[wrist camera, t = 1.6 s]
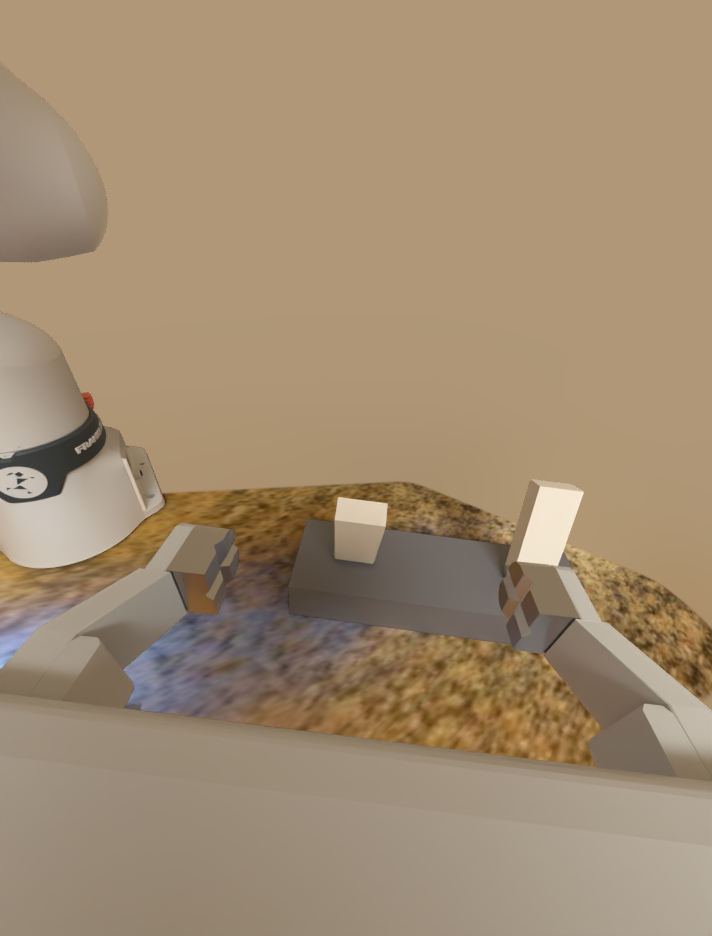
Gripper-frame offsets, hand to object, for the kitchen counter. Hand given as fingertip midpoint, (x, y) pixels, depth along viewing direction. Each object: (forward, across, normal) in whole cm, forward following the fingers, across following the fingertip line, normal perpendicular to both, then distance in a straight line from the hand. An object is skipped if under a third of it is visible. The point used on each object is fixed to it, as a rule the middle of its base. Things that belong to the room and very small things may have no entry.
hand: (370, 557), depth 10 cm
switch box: (+16, -9, +26) cm, 32 cm away
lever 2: (+16, -18, +20) cm, 31 cm away
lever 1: (+16, 0, +20) cm, 25 cm away
